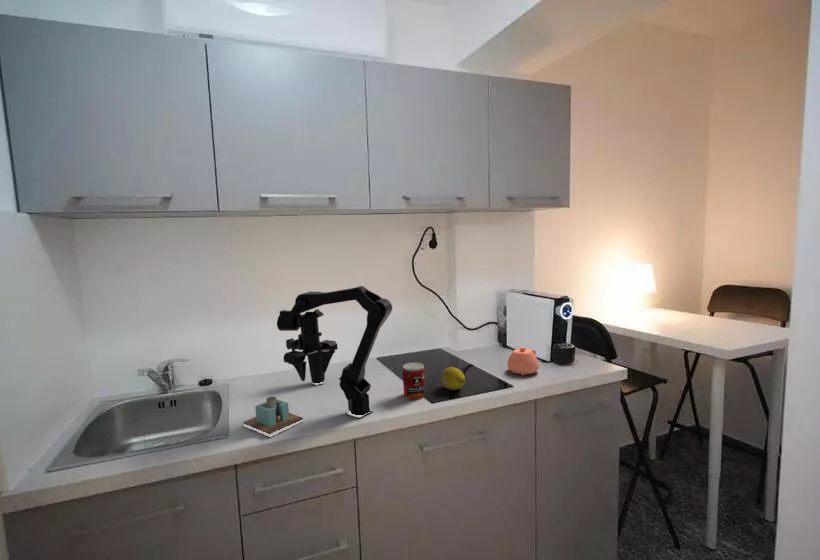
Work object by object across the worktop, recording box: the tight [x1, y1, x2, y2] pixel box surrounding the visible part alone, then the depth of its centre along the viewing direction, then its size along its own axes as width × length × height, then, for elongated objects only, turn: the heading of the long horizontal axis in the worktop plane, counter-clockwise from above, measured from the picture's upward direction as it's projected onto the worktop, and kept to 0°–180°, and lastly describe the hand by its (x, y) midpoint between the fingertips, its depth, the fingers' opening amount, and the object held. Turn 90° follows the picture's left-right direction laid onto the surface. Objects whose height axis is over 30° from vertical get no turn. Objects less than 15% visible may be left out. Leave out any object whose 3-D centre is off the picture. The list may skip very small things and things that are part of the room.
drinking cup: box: [306, 352, 326, 383], centre depth 161 cm, size 8×8×20 cm
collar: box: [254, 398, 290, 427], centre depth 127 cm, size 7×7×5 cm
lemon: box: [440, 366, 466, 391], centre depth 149 cm, size 11×8×8 cm
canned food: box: [402, 362, 426, 400], centre depth 144 cm, size 8×8×11 cm
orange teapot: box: [506, 346, 540, 376], centre depth 164 cm, size 12×14×10 cm
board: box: [242, 396, 304, 434], centre depth 127 cm, size 14×12×8 cm
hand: (314, 376), depth 135 cm, fingers open, 9 cm apart
